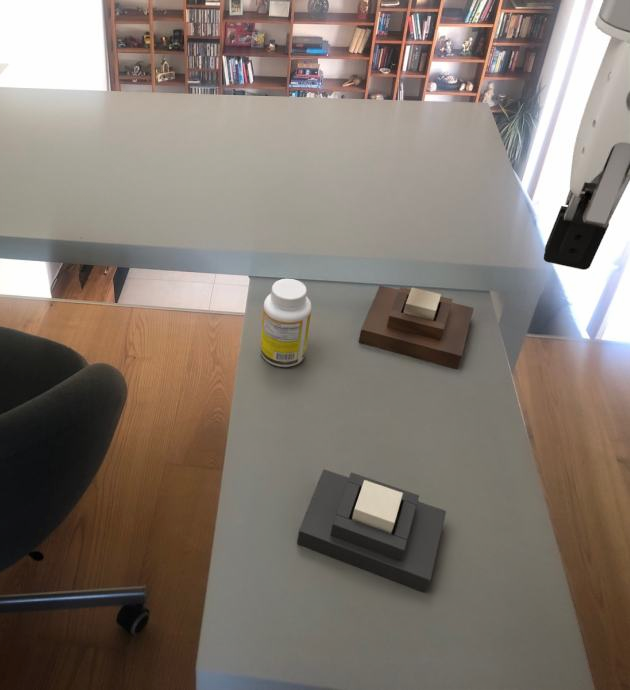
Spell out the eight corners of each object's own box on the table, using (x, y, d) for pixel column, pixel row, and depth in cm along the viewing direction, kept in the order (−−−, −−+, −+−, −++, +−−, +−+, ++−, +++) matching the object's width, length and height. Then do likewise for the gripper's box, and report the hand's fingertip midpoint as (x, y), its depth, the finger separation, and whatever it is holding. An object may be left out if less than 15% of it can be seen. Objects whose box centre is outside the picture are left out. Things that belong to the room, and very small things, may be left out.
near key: (399, 503, 65) (403, 492, 64) (391, 534, 62) (394, 523, 61) (361, 490, 66) (364, 479, 65) (351, 520, 64) (354, 508, 63)
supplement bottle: (284, 333, 89) (291, 268, 82) (314, 357, 86) (324, 291, 79) (250, 350, 87) (255, 285, 80) (280, 375, 83) (287, 309, 76)
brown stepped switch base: (469, 321, 90) (477, 296, 87) (457, 369, 83) (465, 344, 81) (377, 298, 94) (382, 274, 91) (358, 342, 87) (363, 317, 85)
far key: (438, 305, 87) (441, 294, 86) (432, 321, 85) (436, 310, 83) (409, 298, 88) (411, 287, 87) (403, 314, 86) (405, 303, 85)
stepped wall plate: (441, 523, 67) (450, 499, 65) (425, 593, 62) (435, 569, 59) (320, 482, 71) (325, 457, 69) (296, 543, 66) (300, 519, 63)
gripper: (766, 53, 35) (619, 330, 47) (734, -21, 45) (620, 223, 57) (601, 36, 37) (502, 303, 50) (605, -31, 47) (522, 205, 60)
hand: (565, 259), depth 53 cm, fingers closed
